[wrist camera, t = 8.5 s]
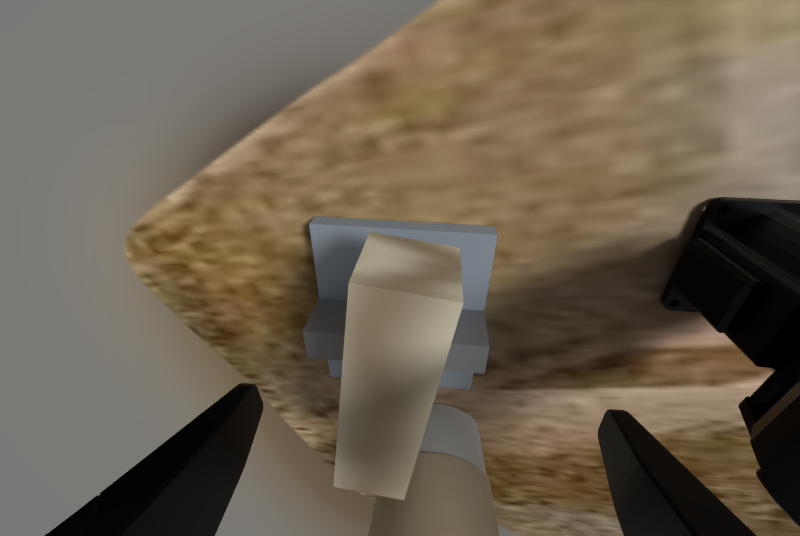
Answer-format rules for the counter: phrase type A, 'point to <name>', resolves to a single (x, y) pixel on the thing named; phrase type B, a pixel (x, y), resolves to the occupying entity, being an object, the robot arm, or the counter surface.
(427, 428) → the coffee cup
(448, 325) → the ash bar
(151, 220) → the counter surface
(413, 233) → the ridge stand
